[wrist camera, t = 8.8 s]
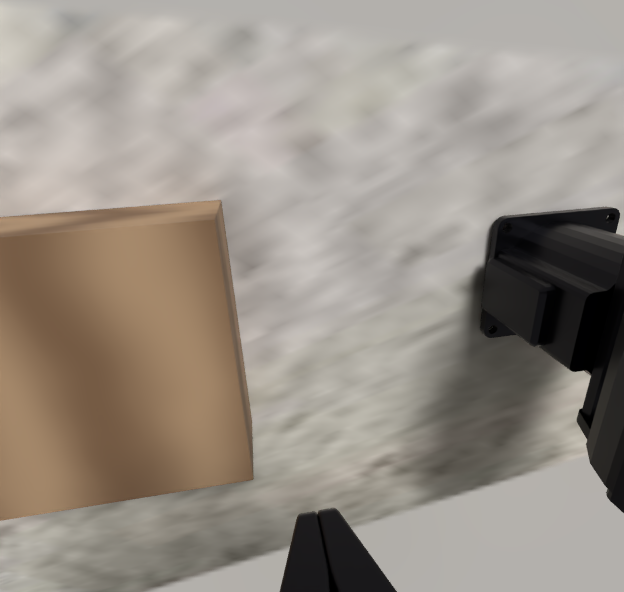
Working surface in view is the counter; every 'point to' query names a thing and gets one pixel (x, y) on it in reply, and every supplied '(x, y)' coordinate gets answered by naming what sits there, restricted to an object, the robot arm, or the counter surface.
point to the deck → (118, 358)
